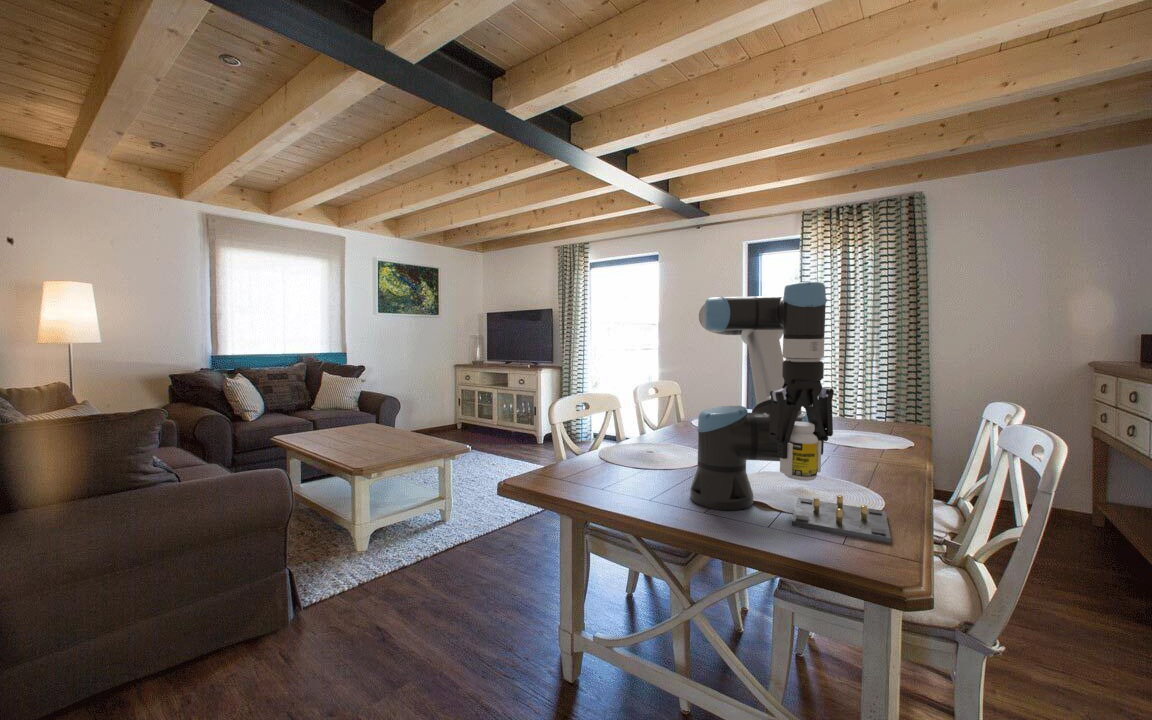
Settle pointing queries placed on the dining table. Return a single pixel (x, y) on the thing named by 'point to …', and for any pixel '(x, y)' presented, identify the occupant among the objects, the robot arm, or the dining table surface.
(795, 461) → the pill bottle
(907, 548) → the dining table surface
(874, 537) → the plate
